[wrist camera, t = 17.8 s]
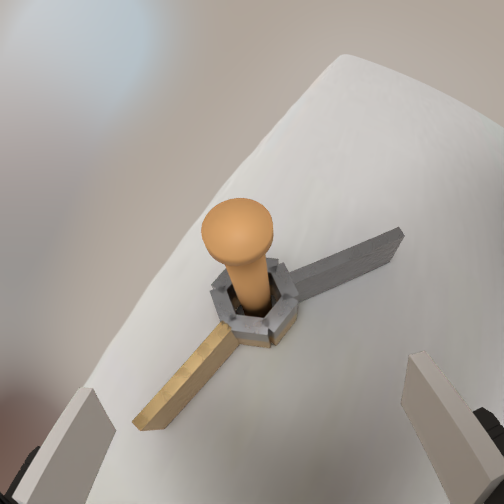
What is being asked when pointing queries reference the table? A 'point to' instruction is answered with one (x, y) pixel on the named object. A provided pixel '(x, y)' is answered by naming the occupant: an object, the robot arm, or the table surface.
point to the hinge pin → (242, 249)
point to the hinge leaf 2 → (301, 285)
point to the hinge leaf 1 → (197, 373)
